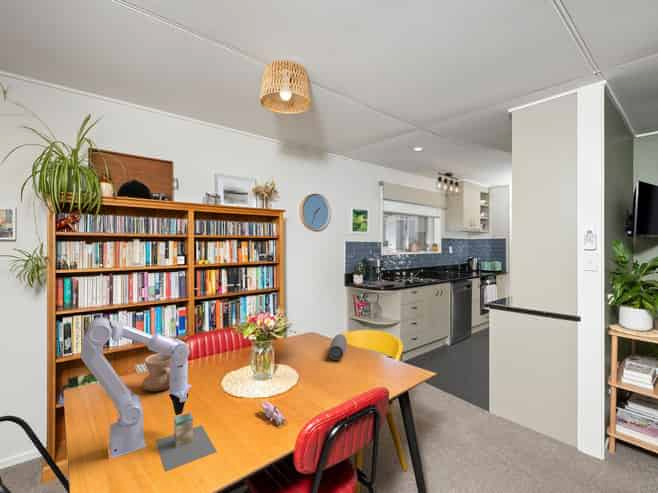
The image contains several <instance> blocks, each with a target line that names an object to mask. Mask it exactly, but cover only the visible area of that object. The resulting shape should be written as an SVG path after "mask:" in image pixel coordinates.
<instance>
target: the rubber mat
mask: <svg viewBox="0 0 658 493" xmlns="http://www.w3.org/2000/svg"><path fill="white" fill-rule="evenodd" d="M155 444H156V447H157V449H158V452H159V453H158V454H159V455H160V456H159V457H160V460H161V463H162V466H163V469H164V472H165V473H166V472H168V471H171V470H174V469H177V468H179V467H182V466H184V465H187V464H189V463H191V462H194V461H197V460H200V459H202V458H205V457H208V456H210V455H213V454H216V453H217V452H218V450H217V449H216V447H215V446H214V443H213V442H212V441H211V439H210V437H209V435H208V433H207V432H206V430H205V428H204V426H203V425H199V426H195V427H193V442H190V443H187V444H184V445H181V446H179V447H176V444H175V442H174V433H173V434H171V435H168V436H165V437H162V438H158V439H156V440H155Z"/></svg>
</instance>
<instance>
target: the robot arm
mask: <svg viewBox="0 0 658 493" xmlns="http://www.w3.org/2000/svg"><path fill="white" fill-rule="evenodd" d="M122 338H124V339H127V340H130V341H134V342H137V343H141V344H144V345H146V347H147V348H148V350H149V351H152V352H155V353H157V354H158V353H161V354H164V355H167V356H168V355H170V356H171V363H170V388H168V391H169V392H168V393H169V394H168V396H169V397H170V400H171V402H172V406H173V410H174V415H175V416H180V415H183V412H184V408H185V404H186V402H187V400H188V397H189V393H188V391H189V389H191V388H192V384H190V383H188V381H189V379H188V378H189V376H188V373H189V372H188V370H189V366H188V365H189V363H188V357H189V355H190V353H191V351H190V348H189V346H188V344H186V342H184V341H183V340H182V339H178V338H172V337H170V336H167V334H166V333H164V332H161V333H158V332H157V333H154V334H150V333H147V332H145V331H142V330H140V329H138V328H135V327H133V326H130V325H128V324H126V323H123V322H120V321H117V320H114V319H111V320H110V319H109V318H107V317H103V316H102V317H97V318H94V319H92V320H91V321H90V322H89V323H88V325H87V327H86V328H85V331H84V334H83V338H82V345H81V352H80V359H81V360H82V361H83V363H84V365H85V366H86V367H87V369H88V370H89V371H90V373H91V374H92V375H93V376H94V378H95V379H96V380H97V382H98V383H99V385H100V386H101V387H102V389H103V390H104V391H105V392H106V394H107V395H108V397H109V398H110V399H111V400H112V402H113V404H114V407H115V409H116V411H117V412H118V414H119V417H118V419H117V421H116V422H114V423H112V424H110V425H109V443H108V450H109V455H110V459H115V458H116V457H120V456H123V455H126V454H129V453H132V452H136V451H138V450H141V449H145V448H146V440H145V437H144V409H143V407H142V403H141V401H142V400H141V397H140V396H139V395H138V394H135V393H133V391H132V390H131V389H129V388H128V387H127V385H126V384H125V383H124V382H123V380H122V379H121V377H120V376H119V375H118V373H117V372H116V370H115V369H114V368H113V366H112V365H111V363H110V362H109V361H108V359H107V358H106V357H105V355H104V354H103V352H102V351H103V348H104V346H105V344H107V342H109V340H110V339H111V341H114V340H118V339H122Z"/></svg>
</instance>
